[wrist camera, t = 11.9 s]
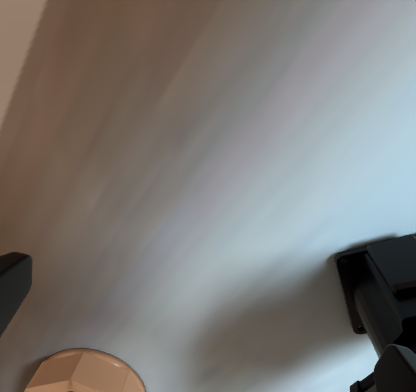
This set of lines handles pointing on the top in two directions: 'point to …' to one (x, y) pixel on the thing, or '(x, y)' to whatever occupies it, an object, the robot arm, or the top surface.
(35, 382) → the octagonal ashtray
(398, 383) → the robot arm
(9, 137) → the top surface
